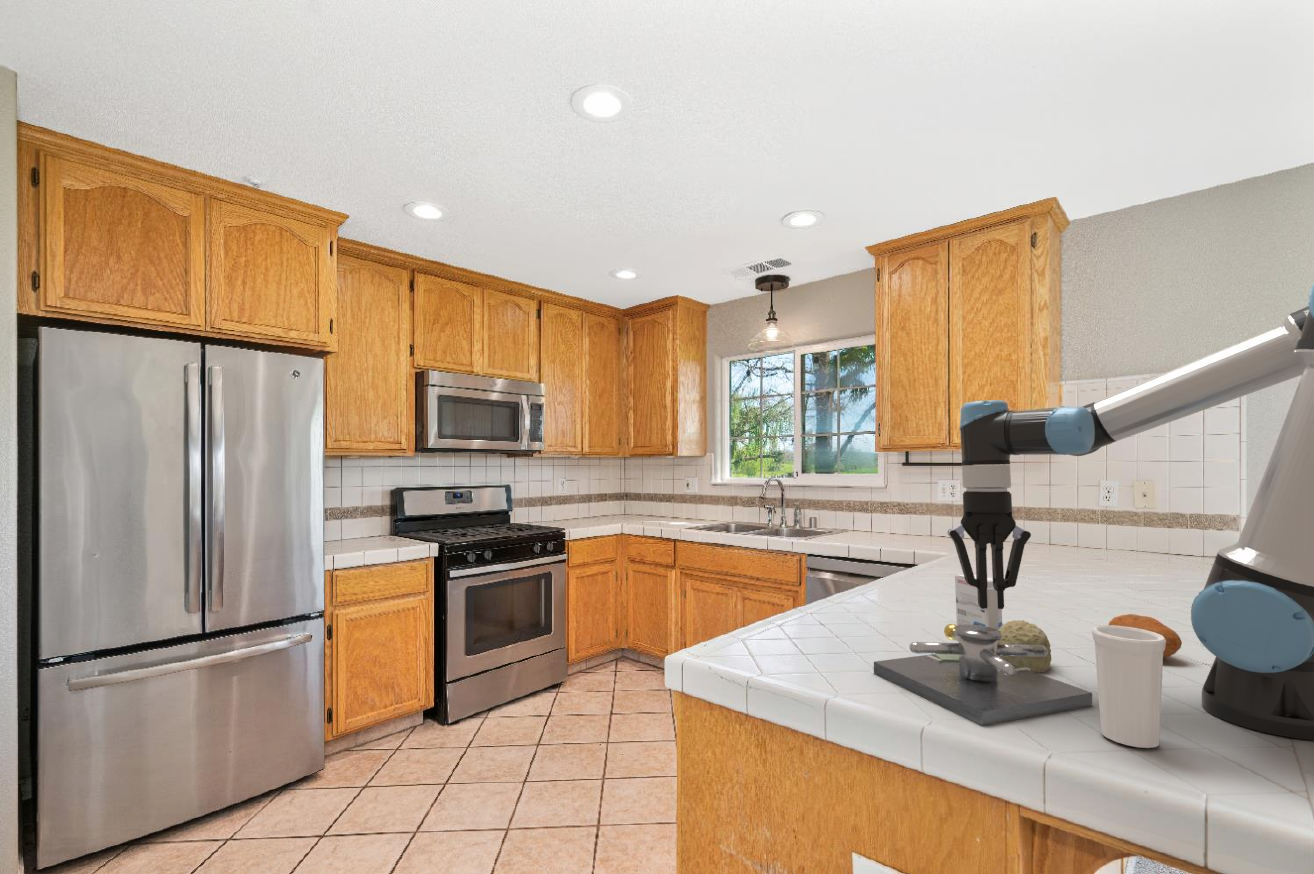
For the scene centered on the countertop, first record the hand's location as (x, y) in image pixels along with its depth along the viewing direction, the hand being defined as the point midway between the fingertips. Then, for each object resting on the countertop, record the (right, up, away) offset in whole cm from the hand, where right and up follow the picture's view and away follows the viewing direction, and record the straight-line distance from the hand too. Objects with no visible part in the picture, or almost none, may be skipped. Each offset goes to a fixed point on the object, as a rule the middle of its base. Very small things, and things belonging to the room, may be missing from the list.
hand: (991, 627), depth 109 cm
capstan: (-5, -6, -5) cm, 10 cm away
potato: (+36, -10, +13) cm, 39 cm away
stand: (-5, -8, -6) cm, 11 cm away
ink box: (+13, -10, +30) cm, 34 cm away
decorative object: (+9, -9, +7) cm, 15 cm away
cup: (+6, -8, -24) cm, 26 cm away
